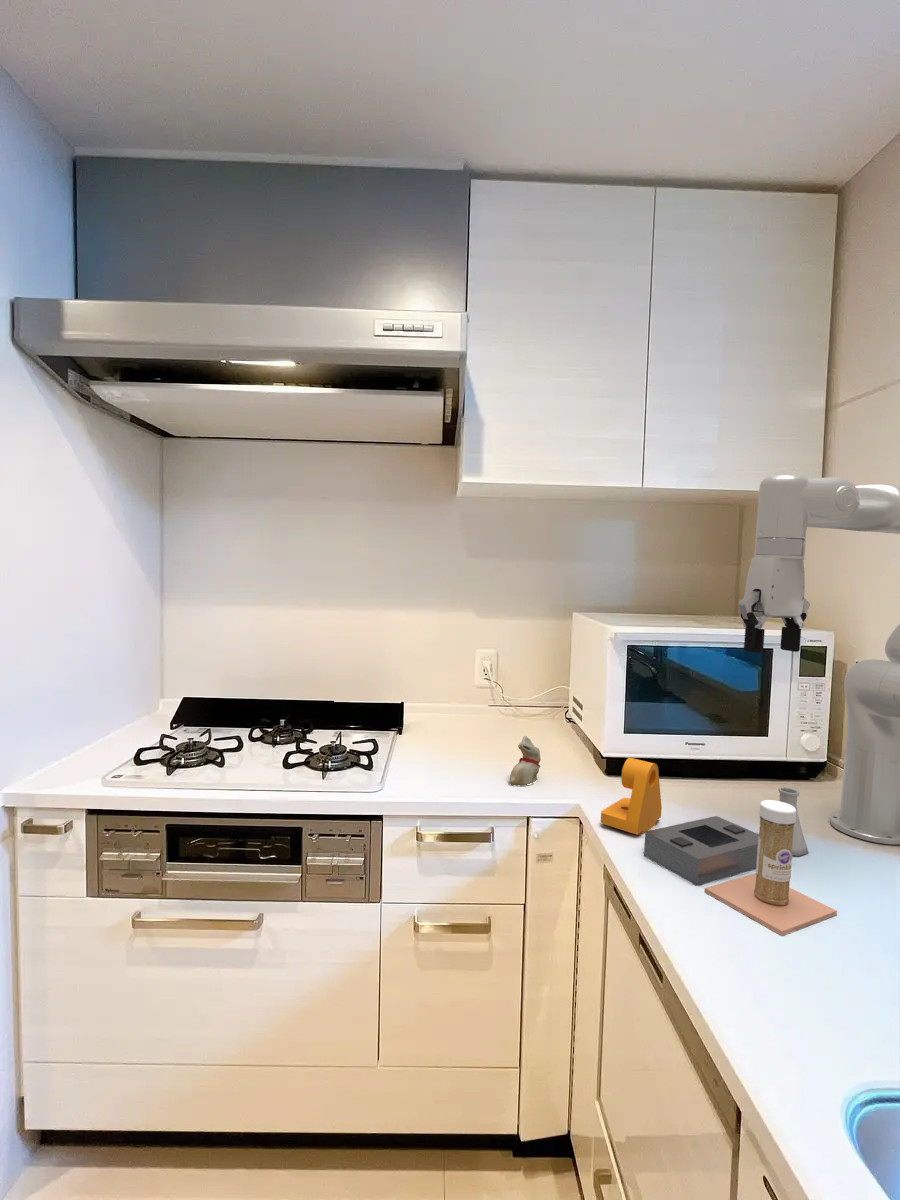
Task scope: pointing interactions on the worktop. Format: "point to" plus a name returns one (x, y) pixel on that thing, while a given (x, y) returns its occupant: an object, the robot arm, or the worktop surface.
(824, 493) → the robot arm
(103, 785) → the worktop surface
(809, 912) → the coaster
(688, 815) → the worktop surface
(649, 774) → the bracket
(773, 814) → the sprinkles bottle
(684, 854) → the socket bar
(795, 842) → the flask
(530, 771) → the chocolate bunny
